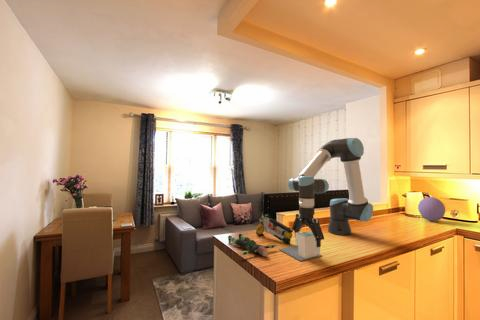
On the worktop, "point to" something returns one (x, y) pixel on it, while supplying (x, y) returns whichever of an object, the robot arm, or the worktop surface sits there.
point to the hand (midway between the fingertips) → (307, 248)
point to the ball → (431, 208)
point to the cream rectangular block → (306, 244)
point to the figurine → (250, 245)
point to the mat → (296, 253)
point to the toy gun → (274, 229)
